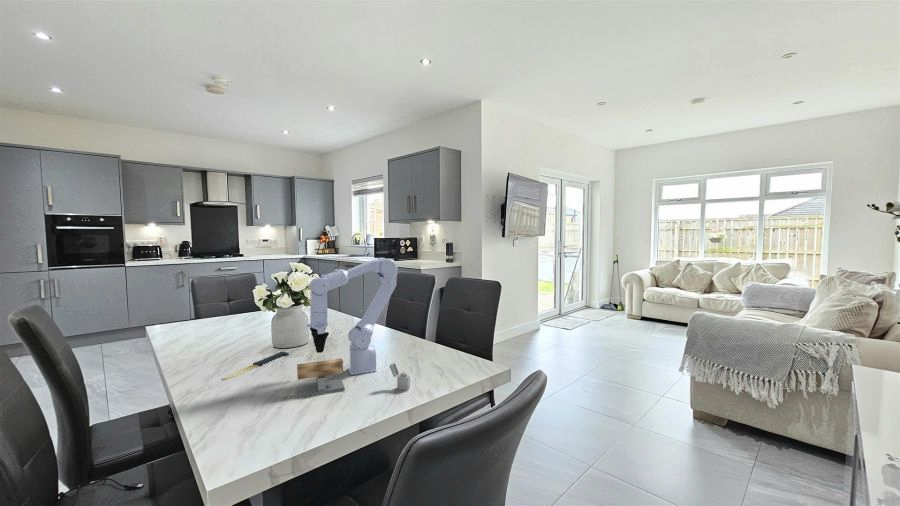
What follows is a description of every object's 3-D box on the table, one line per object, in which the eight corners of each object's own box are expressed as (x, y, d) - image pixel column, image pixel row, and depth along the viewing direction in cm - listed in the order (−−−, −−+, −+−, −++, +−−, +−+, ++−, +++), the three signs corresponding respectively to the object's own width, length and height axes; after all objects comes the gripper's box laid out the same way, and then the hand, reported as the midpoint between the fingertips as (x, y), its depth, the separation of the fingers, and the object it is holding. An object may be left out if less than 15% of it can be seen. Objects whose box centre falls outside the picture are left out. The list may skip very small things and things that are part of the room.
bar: (341, 369, 126) (341, 358, 126) (343, 372, 123) (342, 361, 123) (297, 376, 120) (297, 364, 120) (297, 379, 117) (297, 367, 117)
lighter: (410, 388, 122) (410, 365, 122) (407, 390, 120) (407, 366, 120) (392, 385, 125) (391, 362, 124) (389, 387, 123) (389, 363, 123)
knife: (288, 352, 158) (227, 377, 130) (288, 356, 158) (227, 382, 130) (280, 351, 160) (218, 376, 131) (281, 355, 160) (218, 381, 131)
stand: (341, 381, 128) (340, 367, 128) (344, 390, 121) (344, 375, 121) (297, 388, 123) (297, 374, 122) (298, 398, 115) (298, 382, 115)
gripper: (305, 308, 136) (305, 345, 136) (308, 316, 123) (308, 356, 123) (325, 307, 139) (325, 343, 139) (330, 314, 126) (330, 354, 126)
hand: (318, 349), depth 131 cm, fingers open, 7 cm apart
